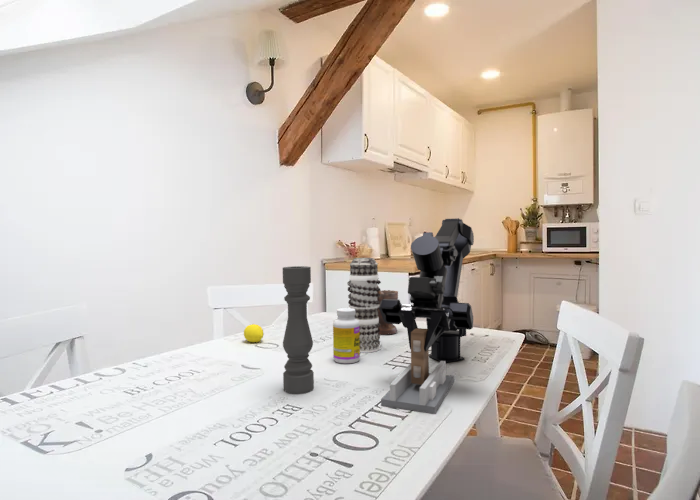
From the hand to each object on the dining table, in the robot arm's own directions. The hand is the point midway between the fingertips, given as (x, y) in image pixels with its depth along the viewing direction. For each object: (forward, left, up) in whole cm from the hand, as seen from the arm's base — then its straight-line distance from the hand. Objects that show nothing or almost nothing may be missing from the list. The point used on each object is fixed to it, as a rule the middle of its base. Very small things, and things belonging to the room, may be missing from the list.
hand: (418, 349), depth 85 cm
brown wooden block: (-1, -1, -7) cm, 7 cm away
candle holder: (+20, -14, -9) cm, 26 cm away
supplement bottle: (+3, -28, -9) cm, 29 cm away
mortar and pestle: (-19, -50, -9) cm, 54 cm away
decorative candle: (-6, -36, -9) cm, 38 cm away
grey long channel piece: (-1, -1, -9) cm, 9 cm away
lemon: (+20, -58, -9) cm, 62 cm away
